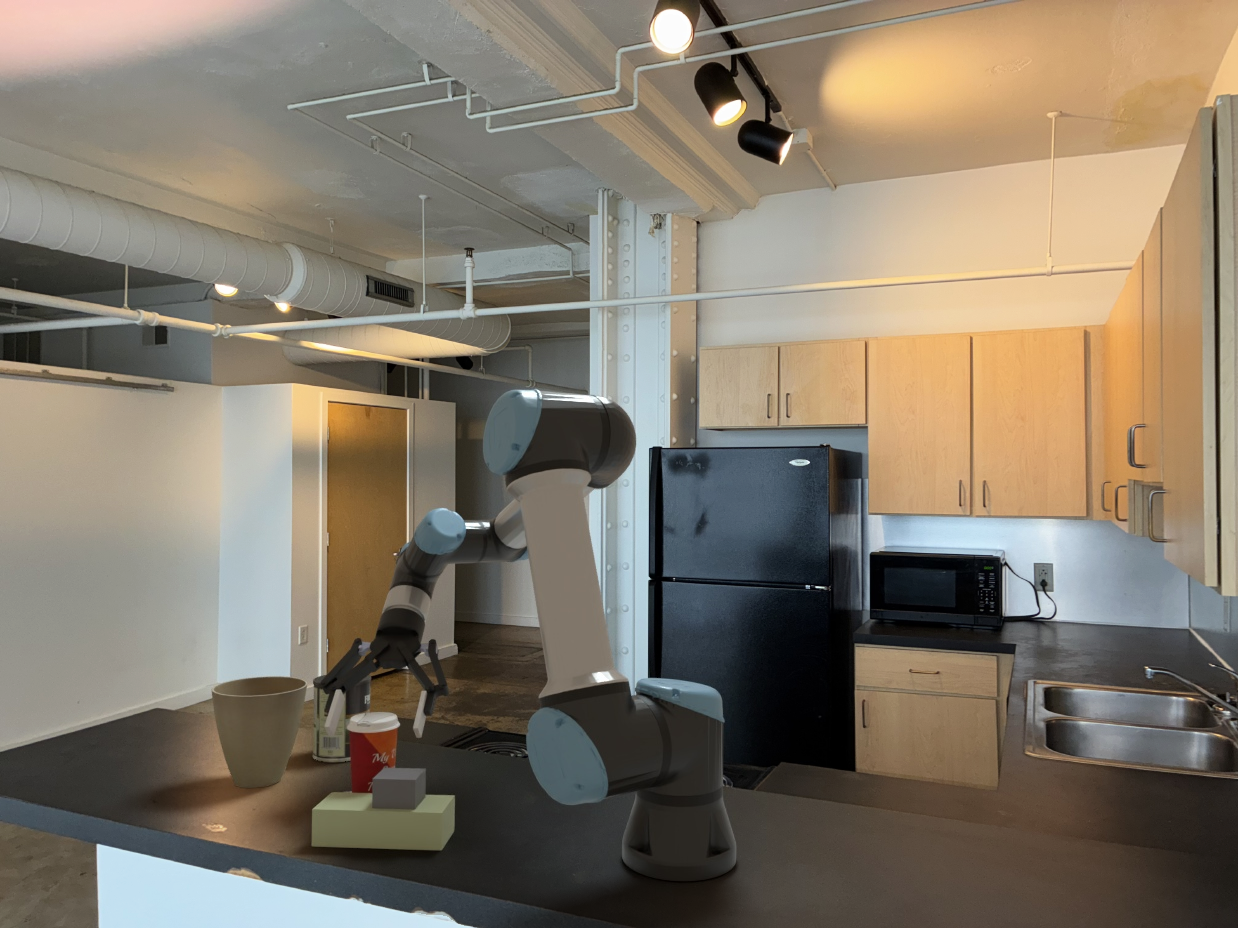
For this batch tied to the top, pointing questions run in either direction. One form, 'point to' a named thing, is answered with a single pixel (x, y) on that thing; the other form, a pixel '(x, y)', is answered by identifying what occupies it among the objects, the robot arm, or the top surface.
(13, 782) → the top surface
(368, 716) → the paper cup
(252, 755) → the plant pot
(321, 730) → the coffee can
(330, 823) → the green block with cube
